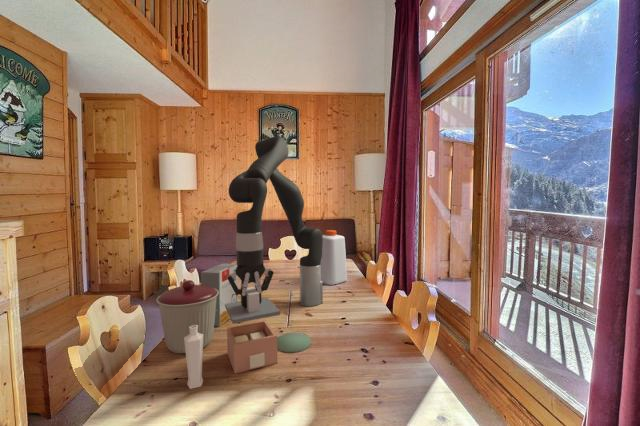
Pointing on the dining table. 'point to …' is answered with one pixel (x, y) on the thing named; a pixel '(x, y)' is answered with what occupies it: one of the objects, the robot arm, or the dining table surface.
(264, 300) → the lid
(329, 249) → the plastic bottle
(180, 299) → the canister
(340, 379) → the dining table surface
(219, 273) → the hard drive box
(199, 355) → the perfume bottle
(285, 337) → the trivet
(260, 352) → the crate
